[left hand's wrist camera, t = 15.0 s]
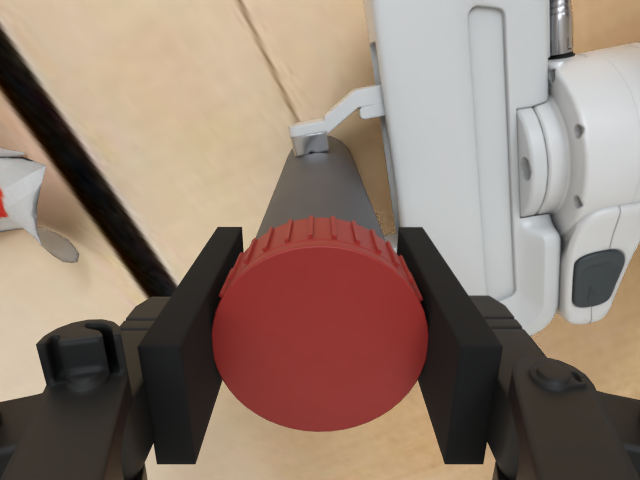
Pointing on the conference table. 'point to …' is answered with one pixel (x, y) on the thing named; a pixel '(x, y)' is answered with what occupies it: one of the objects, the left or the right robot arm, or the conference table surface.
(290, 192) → the dark grey cylinder
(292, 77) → the conference table surface
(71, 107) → the conference table surface
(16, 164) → the fish
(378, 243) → the lid
